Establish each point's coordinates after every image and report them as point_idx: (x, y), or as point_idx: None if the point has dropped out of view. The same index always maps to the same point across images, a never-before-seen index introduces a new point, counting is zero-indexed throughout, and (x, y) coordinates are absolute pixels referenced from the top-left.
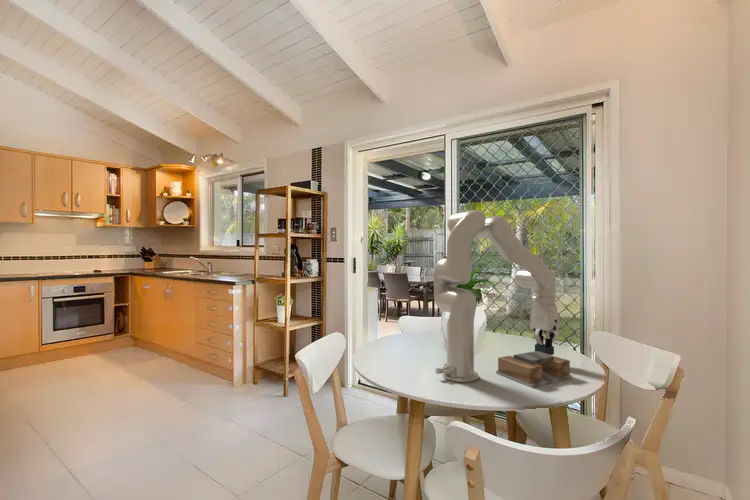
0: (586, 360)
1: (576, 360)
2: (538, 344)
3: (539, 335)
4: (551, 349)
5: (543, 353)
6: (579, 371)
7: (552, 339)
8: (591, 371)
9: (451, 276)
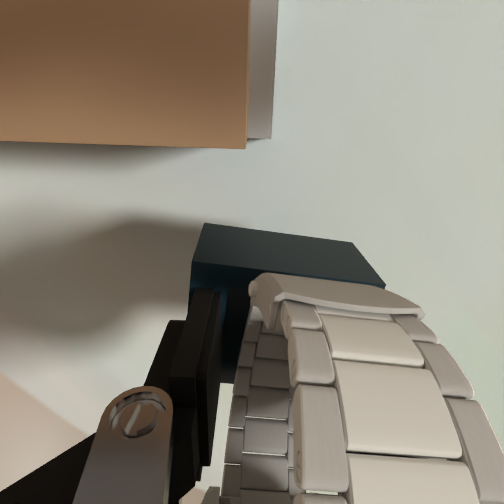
0: (195, 482)
1: (219, 450)
2: None
3: None
4: None
5: (118, 121)
6: (45, 304)
7: (227, 479)
8: (26, 359)
9: None
